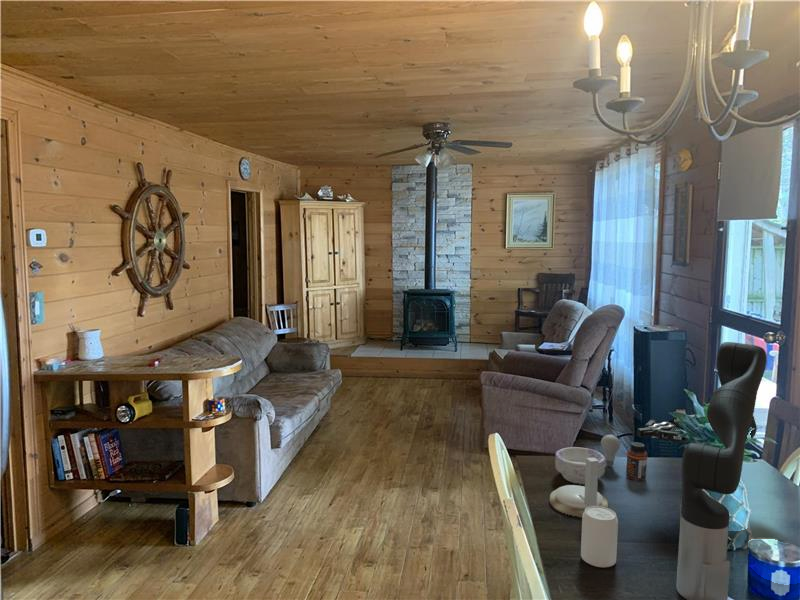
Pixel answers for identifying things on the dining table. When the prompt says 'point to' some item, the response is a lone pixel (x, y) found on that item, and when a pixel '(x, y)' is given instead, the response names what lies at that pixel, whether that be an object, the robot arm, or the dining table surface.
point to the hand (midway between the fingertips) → (638, 433)
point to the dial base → (570, 510)
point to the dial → (582, 489)
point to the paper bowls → (577, 463)
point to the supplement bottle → (636, 462)
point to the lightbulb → (610, 448)
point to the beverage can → (599, 536)
